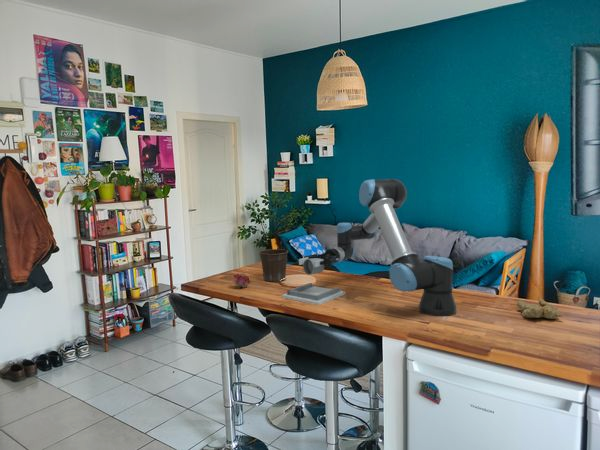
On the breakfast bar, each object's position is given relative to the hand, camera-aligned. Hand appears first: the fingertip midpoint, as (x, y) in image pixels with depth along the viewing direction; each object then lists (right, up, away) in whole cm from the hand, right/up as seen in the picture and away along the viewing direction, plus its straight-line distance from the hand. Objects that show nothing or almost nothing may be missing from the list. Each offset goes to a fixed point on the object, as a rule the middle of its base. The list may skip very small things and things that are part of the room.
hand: (307, 263), depth 212 cm
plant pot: (-18, -13, +39) cm, 45 cm away
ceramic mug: (+2, -5, +6) cm, 8 cm away
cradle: (+3, -16, +6) cm, 17 cm away
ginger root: (+92, -19, -32) cm, 100 cm away
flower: (-34, -15, +24) cm, 44 cm away
